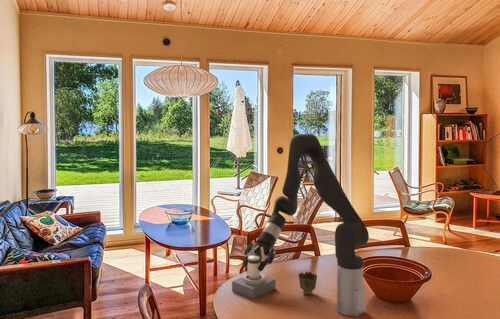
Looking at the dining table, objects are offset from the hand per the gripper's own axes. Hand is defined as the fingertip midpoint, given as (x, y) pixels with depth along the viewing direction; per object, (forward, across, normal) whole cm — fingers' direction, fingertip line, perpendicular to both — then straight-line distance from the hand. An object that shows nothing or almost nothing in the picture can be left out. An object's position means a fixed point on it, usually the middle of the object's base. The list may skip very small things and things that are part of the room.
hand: (251, 268), depth 158 cm
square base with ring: (+6, 0, +8) cm, 10 cm away
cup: (-2, +19, +16) cm, 25 cm away
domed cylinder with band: (+3, 0, +5) cm, 6 cm away
